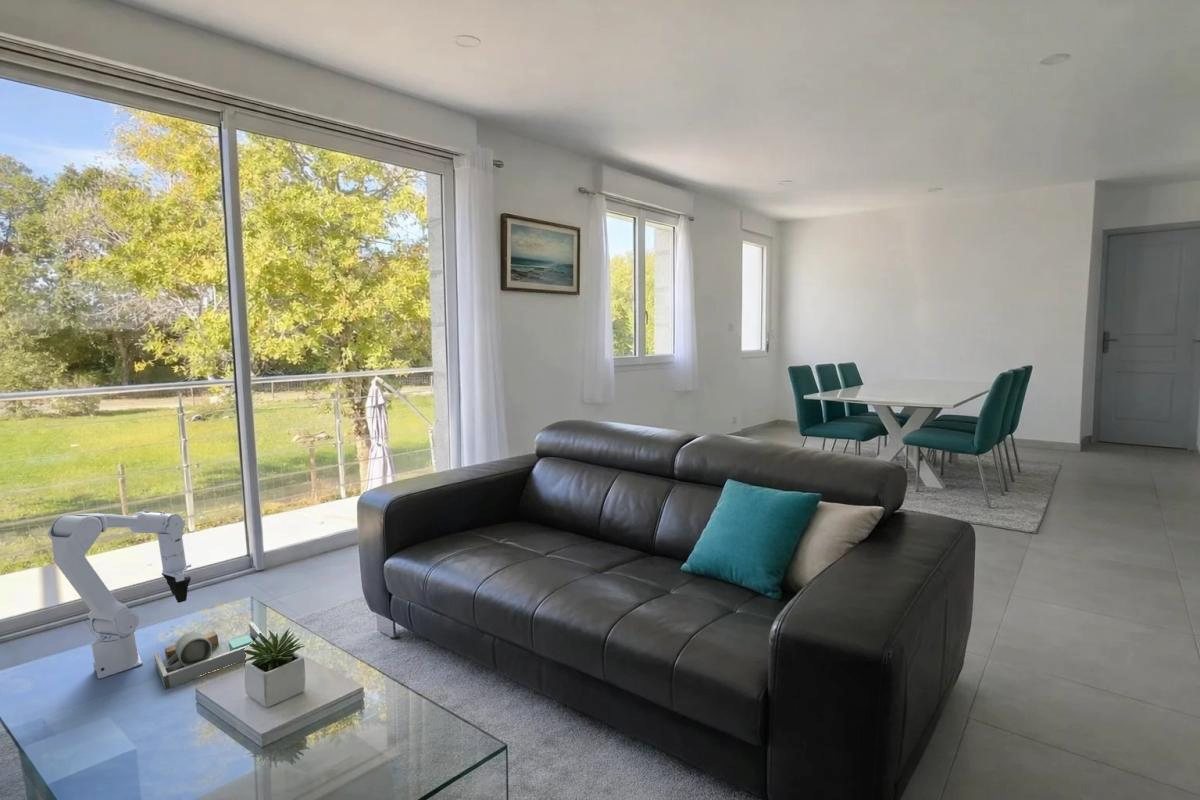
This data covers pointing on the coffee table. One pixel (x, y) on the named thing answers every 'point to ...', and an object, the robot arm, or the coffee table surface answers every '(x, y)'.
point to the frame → (202, 664)
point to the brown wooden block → (210, 636)
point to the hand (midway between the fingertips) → (179, 597)
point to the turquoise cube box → (239, 642)
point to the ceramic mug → (189, 651)
